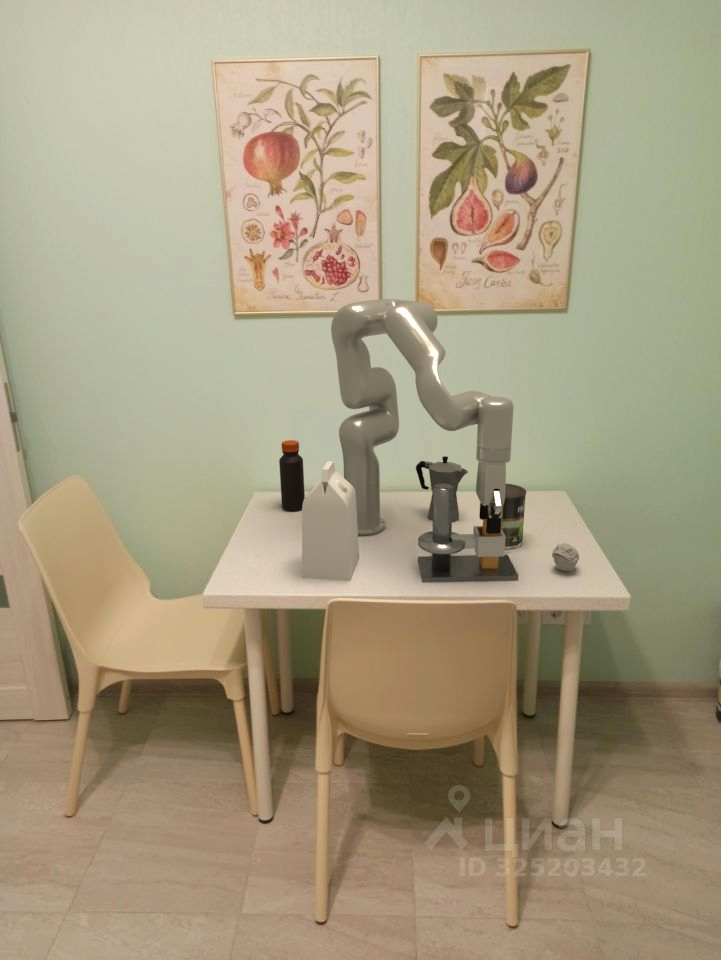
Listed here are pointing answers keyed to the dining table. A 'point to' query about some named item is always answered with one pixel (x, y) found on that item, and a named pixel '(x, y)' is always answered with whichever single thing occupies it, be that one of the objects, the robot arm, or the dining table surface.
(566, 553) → the plaster head sculpture
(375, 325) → the robot arm
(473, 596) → the dining table surface
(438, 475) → the coffeepot
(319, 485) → the milk
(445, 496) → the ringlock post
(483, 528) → the orange rectangular block
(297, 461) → the vinegar
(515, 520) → the coffee can
